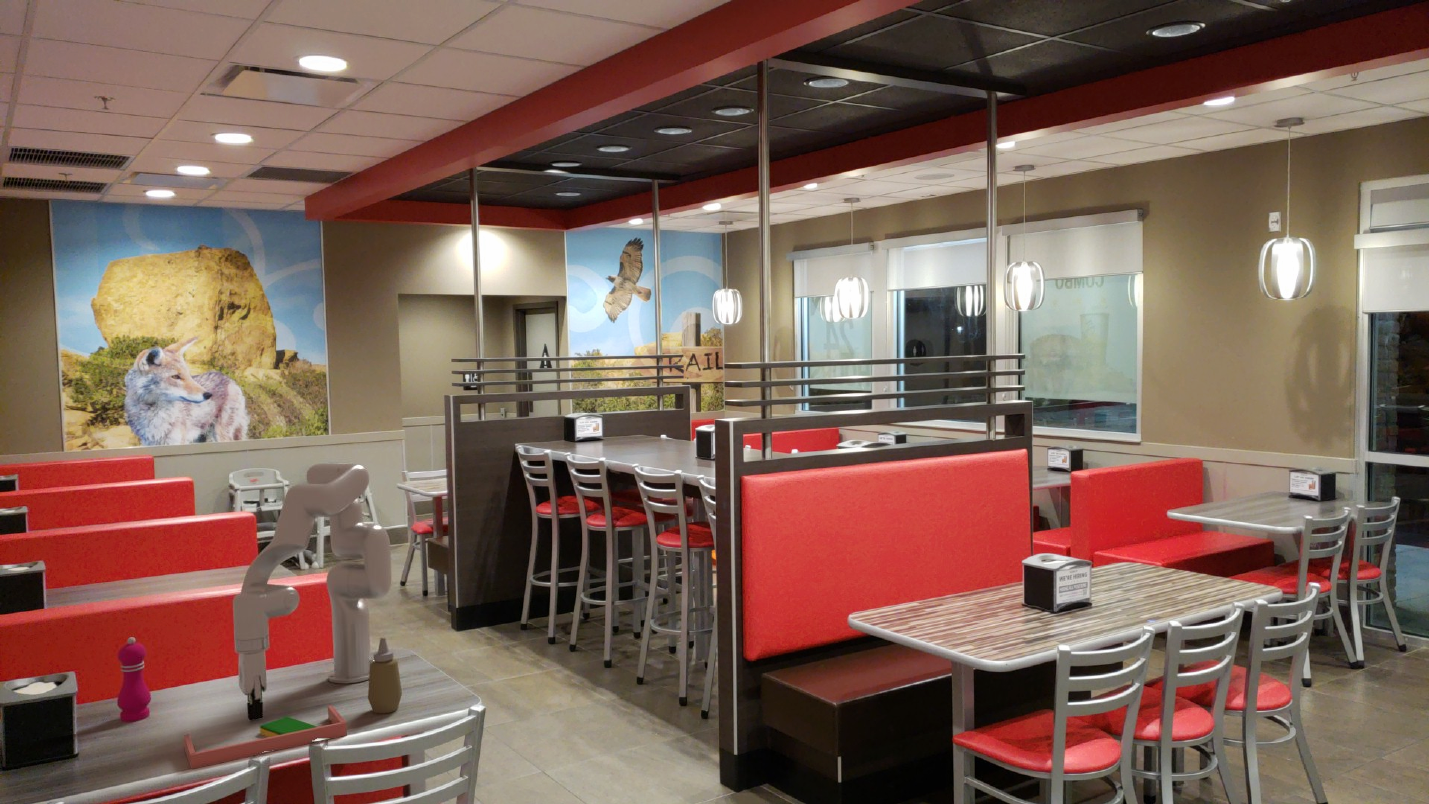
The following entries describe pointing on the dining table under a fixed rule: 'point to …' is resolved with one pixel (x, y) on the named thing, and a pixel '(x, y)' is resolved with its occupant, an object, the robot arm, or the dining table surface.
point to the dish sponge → (283, 727)
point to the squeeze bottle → (384, 681)
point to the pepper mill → (133, 683)
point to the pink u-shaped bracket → (265, 743)
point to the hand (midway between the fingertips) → (255, 718)
